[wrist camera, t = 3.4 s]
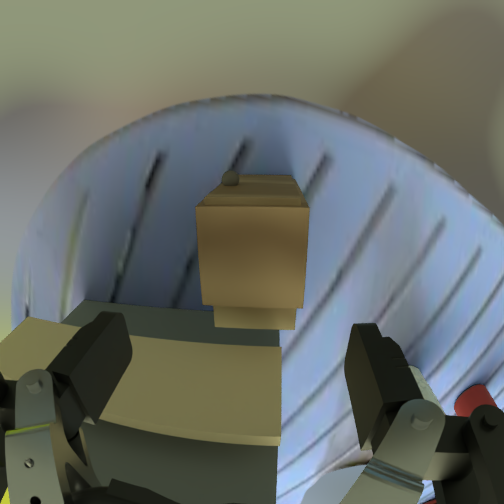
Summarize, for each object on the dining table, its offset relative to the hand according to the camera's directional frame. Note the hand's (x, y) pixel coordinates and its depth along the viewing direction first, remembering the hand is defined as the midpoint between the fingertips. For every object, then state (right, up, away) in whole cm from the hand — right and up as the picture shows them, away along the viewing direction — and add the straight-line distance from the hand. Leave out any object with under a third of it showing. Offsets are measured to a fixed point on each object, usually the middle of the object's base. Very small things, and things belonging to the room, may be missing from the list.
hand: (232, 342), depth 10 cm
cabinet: (+2, +7, +18) cm, 19 cm away
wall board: (-8, -5, +23) cm, 25 cm away
